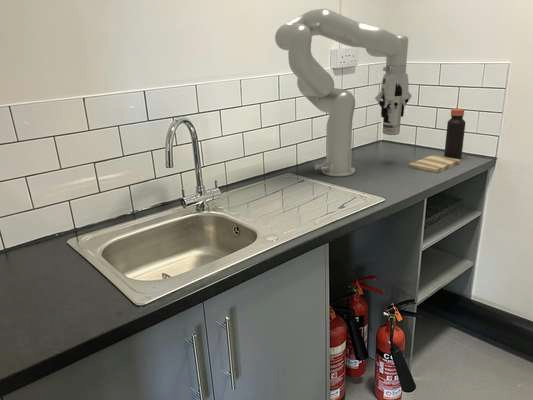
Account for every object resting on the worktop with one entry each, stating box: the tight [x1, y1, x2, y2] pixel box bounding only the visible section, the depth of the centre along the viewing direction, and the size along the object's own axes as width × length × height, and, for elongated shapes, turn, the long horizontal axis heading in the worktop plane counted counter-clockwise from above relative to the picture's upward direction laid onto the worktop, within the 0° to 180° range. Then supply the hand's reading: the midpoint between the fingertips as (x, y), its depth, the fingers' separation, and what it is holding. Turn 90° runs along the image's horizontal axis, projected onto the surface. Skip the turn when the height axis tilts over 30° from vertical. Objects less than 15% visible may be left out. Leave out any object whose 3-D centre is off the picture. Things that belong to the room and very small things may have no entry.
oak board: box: [408, 154, 461, 174], centre depth 174 cm, size 18×12×2 cm, turn 131°
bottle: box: [443, 108, 466, 160], centre depth 180 cm, size 7×7×20 cm
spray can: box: [382, 83, 402, 136], centre depth 172 cm, size 7×7×20 cm
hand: (392, 116), depth 173 cm, fingers closed on spray can, 6 cm apart
